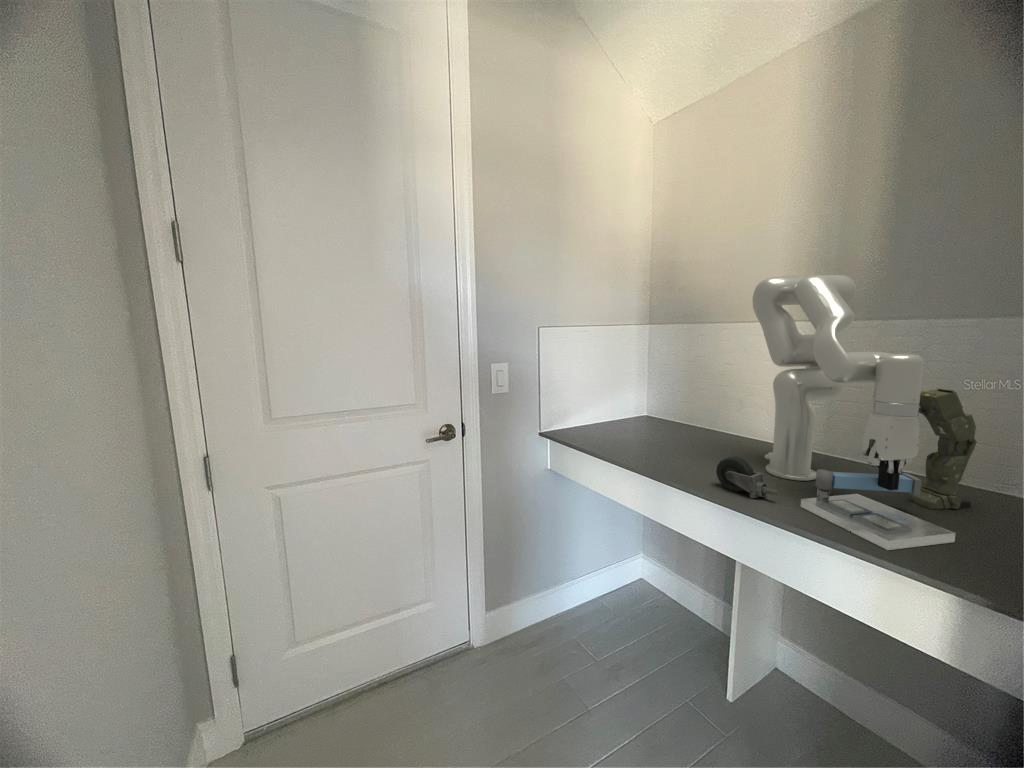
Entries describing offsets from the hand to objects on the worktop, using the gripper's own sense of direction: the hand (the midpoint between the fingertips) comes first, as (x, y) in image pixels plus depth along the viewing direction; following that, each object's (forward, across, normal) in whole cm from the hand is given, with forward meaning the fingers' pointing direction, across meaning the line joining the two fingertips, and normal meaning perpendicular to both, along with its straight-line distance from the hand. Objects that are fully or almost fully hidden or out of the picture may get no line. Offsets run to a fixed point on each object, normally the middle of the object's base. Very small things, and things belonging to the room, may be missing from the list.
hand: (887, 487), depth 92 cm
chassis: (+7, +6, +2) cm, 10 cm away
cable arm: (+2, +2, -4) cm, 5 cm away
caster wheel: (+7, +21, -18) cm, 29 cm away
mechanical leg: (+7, -19, -3) cm, 20 cm away
